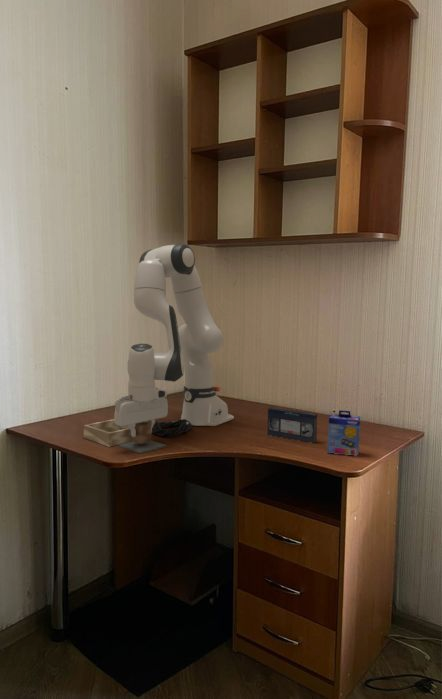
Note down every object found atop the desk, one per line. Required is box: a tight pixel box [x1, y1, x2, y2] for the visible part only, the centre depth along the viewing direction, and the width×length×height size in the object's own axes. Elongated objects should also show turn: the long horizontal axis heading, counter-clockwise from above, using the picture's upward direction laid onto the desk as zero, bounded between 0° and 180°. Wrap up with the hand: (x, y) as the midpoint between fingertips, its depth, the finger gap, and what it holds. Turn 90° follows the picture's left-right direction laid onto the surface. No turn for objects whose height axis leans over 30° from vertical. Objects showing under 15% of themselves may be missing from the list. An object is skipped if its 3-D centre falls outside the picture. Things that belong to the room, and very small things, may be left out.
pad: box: [118, 439, 167, 454], centre depth 182 cm, size 11×11×1 cm
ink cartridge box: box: [327, 409, 361, 457], centre depth 177 cm, size 10×6×14 cm, turn 73°
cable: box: [152, 418, 193, 438], centre depth 201 cm, size 17×14×4 cm
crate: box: [83, 418, 132, 448], centre depth 192 cm, size 16×15×4 cm
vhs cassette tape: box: [267, 407, 318, 444], centre depth 193 cm, size 18×3×10 cm, turn 55°
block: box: [131, 421, 152, 444], centre depth 181 cm, size 4×4×6 cm
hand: (141, 434), depth 181 cm, fingers closed on block, 4 cm apart
